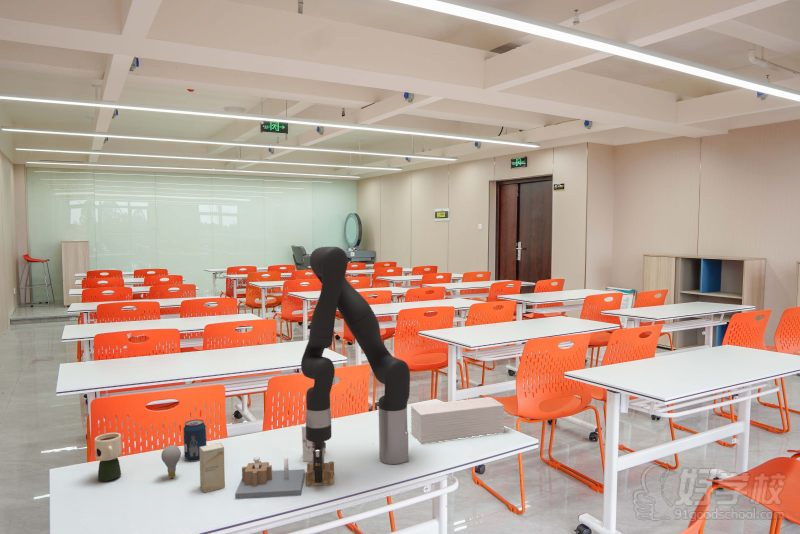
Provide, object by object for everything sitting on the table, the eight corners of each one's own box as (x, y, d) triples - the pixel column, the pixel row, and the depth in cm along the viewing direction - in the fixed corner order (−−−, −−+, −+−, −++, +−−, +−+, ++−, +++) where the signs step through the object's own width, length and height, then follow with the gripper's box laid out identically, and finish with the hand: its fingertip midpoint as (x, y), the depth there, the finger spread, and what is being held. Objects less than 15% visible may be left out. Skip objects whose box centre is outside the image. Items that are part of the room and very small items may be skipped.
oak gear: (334, 473, 171) (334, 460, 170) (333, 485, 163) (333, 472, 162) (307, 475, 170) (307, 462, 170) (305, 487, 162) (305, 473, 162)
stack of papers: (490, 424, 213) (490, 396, 213) (503, 434, 203) (503, 404, 202) (411, 434, 204) (410, 405, 203) (421, 445, 193) (420, 414, 193)
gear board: (304, 473, 171) (304, 448, 170) (300, 495, 157) (299, 467, 156) (244, 477, 169) (243, 450, 169) (235, 498, 155) (234, 470, 155)
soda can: (201, 452, 189) (199, 417, 189) (210, 457, 184) (209, 422, 184) (181, 457, 184) (179, 422, 184) (190, 463, 180) (188, 427, 179)
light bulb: (163, 483, 166) (161, 450, 165) (161, 476, 170) (160, 444, 170) (182, 479, 168) (181, 447, 167) (180, 472, 173) (179, 441, 172)
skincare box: (203, 493, 159) (202, 451, 158) (199, 487, 163) (198, 446, 162) (225, 487, 162) (224, 446, 162) (221, 481, 166) (220, 442, 165)
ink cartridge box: (311, 451, 189) (310, 408, 188) (325, 452, 188) (324, 409, 187) (302, 461, 180) (300, 416, 179) (316, 462, 179) (315, 417, 178)
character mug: (94, 475, 172) (92, 433, 171) (119, 469, 176) (118, 429, 175) (98, 488, 163) (96, 444, 162) (125, 481, 167) (123, 439, 166)
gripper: (330, 430, 159) (331, 486, 159) (332, 414, 173) (332, 465, 174) (303, 431, 158) (304, 487, 159) (307, 415, 172) (308, 466, 173)
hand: (319, 476), depth 166 cm, fingers open, 8 cm apart
